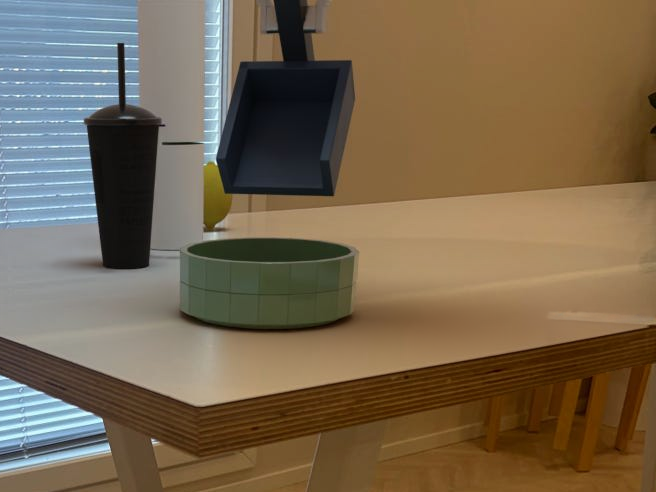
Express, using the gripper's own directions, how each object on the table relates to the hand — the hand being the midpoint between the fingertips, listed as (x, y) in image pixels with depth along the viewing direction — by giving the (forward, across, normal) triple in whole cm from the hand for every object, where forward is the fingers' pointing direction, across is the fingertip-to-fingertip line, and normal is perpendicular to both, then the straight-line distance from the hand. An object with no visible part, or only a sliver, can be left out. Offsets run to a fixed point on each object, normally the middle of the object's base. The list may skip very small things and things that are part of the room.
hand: (293, 34), depth 79 cm
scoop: (+8, 0, +1) cm, 8 cm away
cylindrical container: (+20, -20, +30) cm, 41 cm away
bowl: (+20, 0, -5) cm, 21 cm away
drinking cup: (+20, -20, +15) cm, 32 cm away
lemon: (+20, -20, +45) cm, 53 cm away
